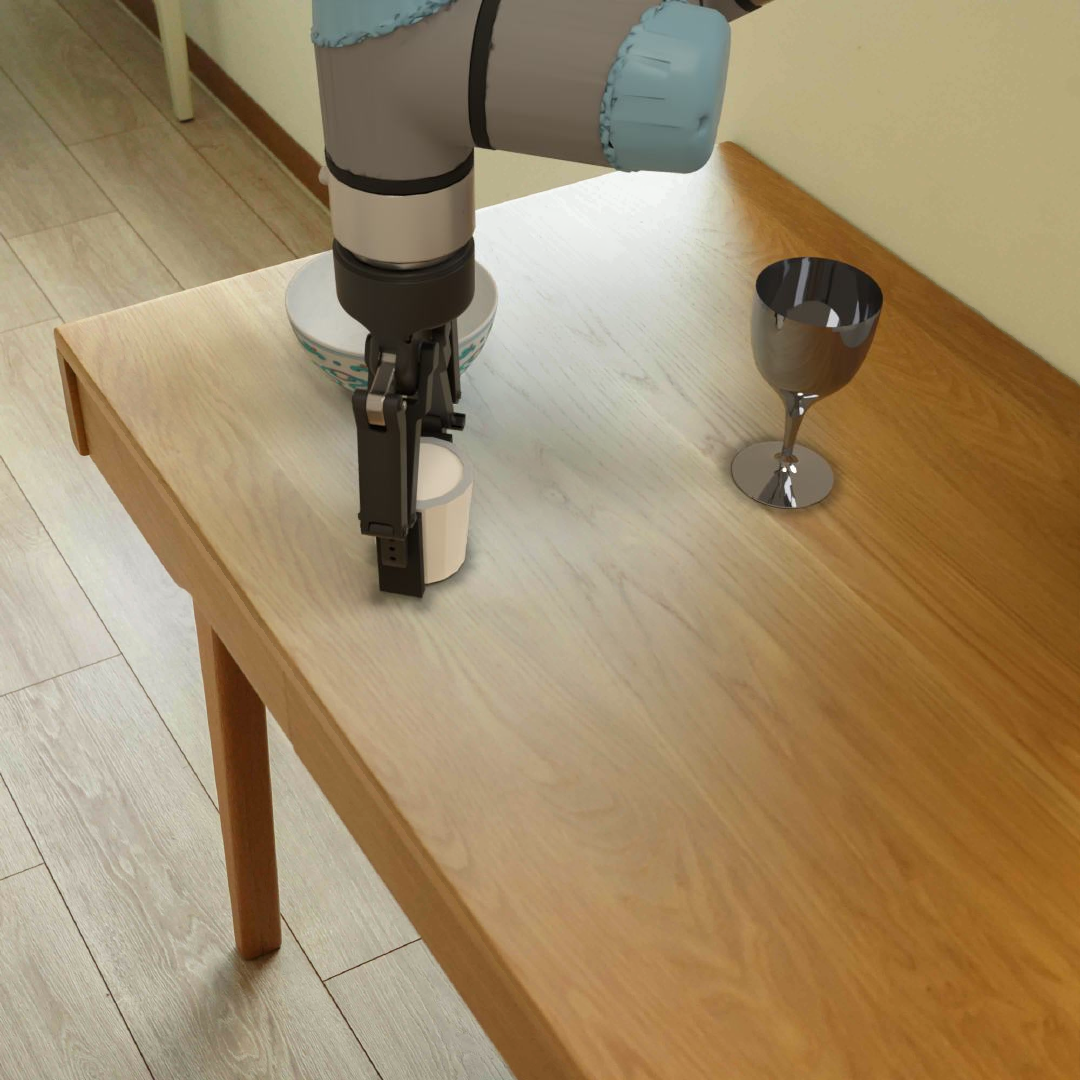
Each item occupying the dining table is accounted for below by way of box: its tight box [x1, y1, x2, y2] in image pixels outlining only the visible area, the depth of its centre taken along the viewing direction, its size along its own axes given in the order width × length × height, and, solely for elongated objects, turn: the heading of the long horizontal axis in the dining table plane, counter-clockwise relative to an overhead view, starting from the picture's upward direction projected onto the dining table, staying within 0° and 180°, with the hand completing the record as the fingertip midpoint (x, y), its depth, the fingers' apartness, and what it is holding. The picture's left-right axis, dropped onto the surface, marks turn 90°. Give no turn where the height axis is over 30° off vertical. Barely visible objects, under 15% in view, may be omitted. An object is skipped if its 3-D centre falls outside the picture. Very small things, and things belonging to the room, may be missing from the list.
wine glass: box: [731, 256, 884, 509], centre depth 89 cm, size 8×8×15 cm
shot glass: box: [373, 437, 475, 585], centre depth 84 cm, size 7×7×7 cm
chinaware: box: [284, 249, 499, 398], centre depth 98 cm, size 15×15×8 cm
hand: (418, 549), depth 87 cm, fingers closed on shot glass, 7 cm apart
